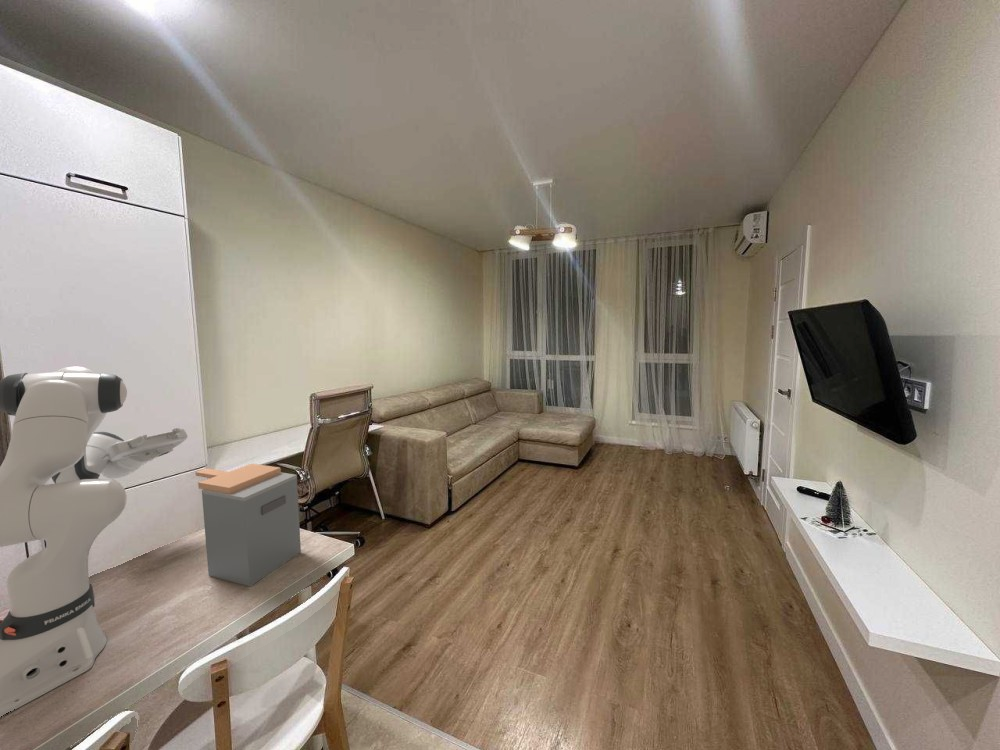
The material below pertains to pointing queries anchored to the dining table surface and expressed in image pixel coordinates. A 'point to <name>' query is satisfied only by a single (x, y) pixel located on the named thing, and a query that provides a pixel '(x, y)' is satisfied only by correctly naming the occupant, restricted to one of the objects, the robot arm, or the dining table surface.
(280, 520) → the crate
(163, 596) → the dining table surface
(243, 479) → the lid
